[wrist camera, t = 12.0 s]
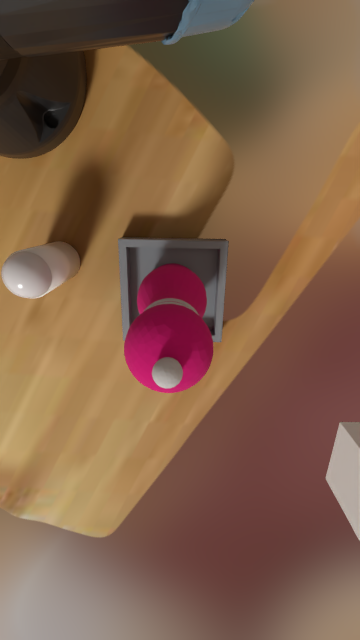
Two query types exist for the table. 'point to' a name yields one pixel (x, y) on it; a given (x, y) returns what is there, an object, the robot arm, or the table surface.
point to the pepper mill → (169, 331)
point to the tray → (192, 253)
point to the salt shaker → (40, 269)
